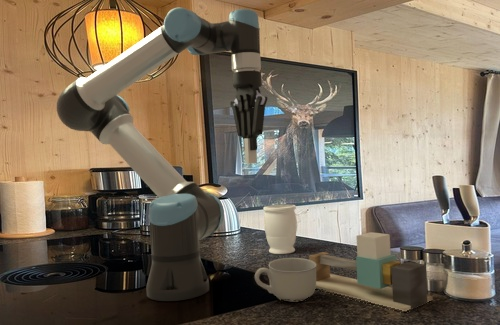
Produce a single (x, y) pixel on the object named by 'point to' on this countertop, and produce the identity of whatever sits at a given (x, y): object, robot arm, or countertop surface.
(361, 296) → the rail
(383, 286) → the sleeve
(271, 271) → the teacup
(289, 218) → the jar
